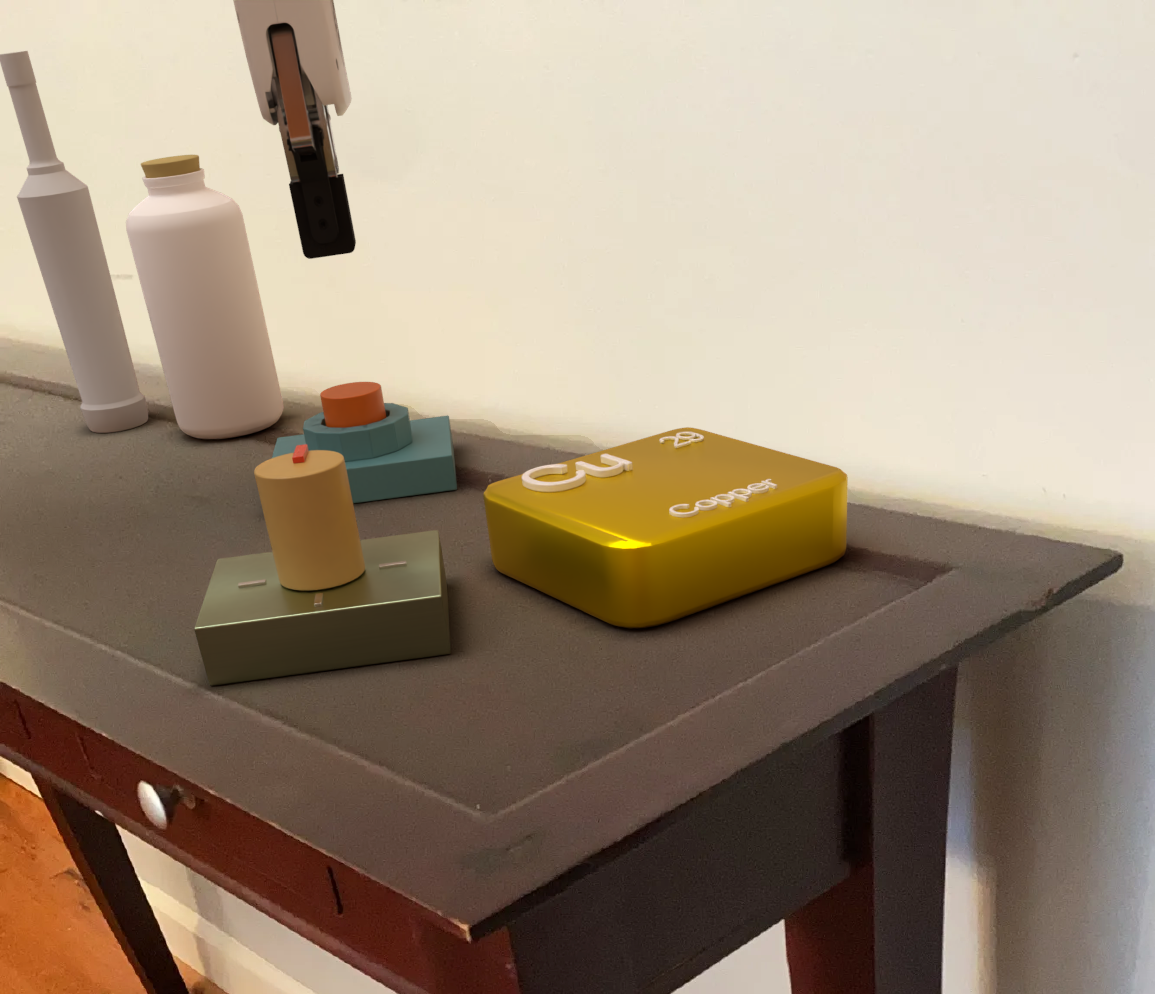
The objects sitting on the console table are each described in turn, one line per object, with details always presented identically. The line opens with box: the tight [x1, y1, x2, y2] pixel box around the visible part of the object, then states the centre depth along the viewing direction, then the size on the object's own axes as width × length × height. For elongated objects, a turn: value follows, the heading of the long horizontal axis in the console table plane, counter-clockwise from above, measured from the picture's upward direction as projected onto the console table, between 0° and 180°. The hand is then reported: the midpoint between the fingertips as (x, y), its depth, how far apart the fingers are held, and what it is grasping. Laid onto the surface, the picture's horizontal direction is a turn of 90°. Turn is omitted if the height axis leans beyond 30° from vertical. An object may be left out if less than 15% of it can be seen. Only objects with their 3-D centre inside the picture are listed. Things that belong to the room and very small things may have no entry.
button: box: [319, 381, 387, 428], centre depth 92 cm, size 4×4×2 cm
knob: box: [253, 444, 365, 590], centre depth 70 cm, size 4×4×6 cm
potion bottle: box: [125, 154, 285, 440], centre depth 104 cm, size 8×8×18 cm
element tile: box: [482, 426, 849, 629], centre depth 75 cm, size 15×15×5 cm
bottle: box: [0, 50, 149, 434], centre depth 107 cm, size 5×5×25 cm
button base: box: [271, 402, 458, 504], centre depth 93 cm, size 12×10×4 cm
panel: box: [193, 529, 452, 687], centre depth 72 cm, size 12×10×3 cm
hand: (330, 253), depth 86 cm, fingers closed
